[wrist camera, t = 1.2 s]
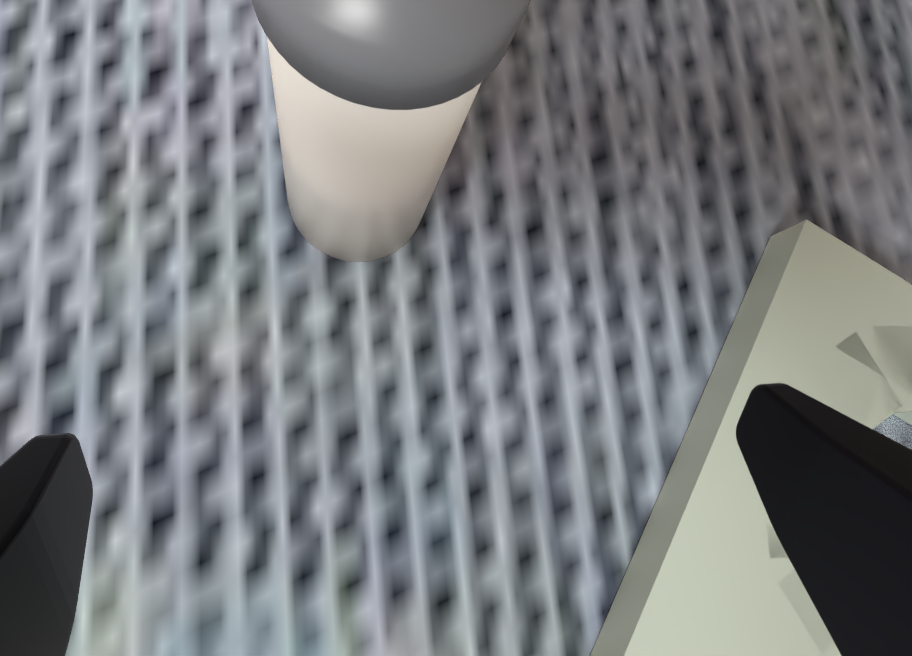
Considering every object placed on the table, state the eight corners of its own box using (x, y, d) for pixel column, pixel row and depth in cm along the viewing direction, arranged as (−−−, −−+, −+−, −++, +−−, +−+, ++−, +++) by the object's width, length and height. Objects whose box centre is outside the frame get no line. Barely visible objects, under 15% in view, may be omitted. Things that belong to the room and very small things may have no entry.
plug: (385, 295, 23) (464, 107, 10) (251, 218, 23) (167, -73, 10) (454, 175, 24) (600, -122, 12) (329, 101, 24) (341, -290, 11)
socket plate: (966, 947, 23) (1026, 992, 21) (557, 732, 22) (580, 759, 20) (1100, 438, 28) (1159, 437, 26) (770, 236, 26) (806, 219, 24)
